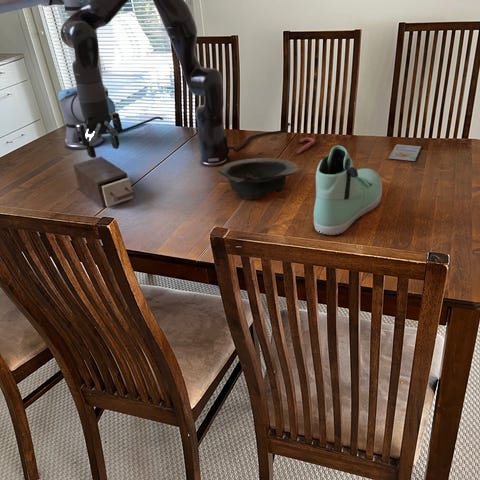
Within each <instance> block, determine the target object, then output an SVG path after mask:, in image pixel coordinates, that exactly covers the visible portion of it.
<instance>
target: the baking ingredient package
mask: <svg viewBox="0 0 480 480" xmlns="http://www.w3.org/2000/svg"><path fill="white" fill-rule="evenodd" d="M421 148H422V146H419V145H418V146H417V145H409V144H398V143H396V145H395V146H394V148H393V149H392V151H391V153H390V155H389V156H388V159H391V160H392V159H393V160H399V161H410V162H411V161H412V162H415V161H416V160H417V157H418V155H419V152H420V151H421Z"/></svg>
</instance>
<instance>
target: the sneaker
mask: <svg viewBox="0 0 480 480" xmlns="http://www.w3.org/2000/svg"><path fill="white" fill-rule="evenodd" d="M317 165H318V166H317V168H316V172H315V201H314V207H313V225H314V229H315V231H316V232H318V233H320V234H323V235H326V236H327V235H328V236H336V235H339V234H342V233H344V232H345V231H347V230H348V229H349V228H350V227H351V226H352V225H353V224H354V222H356V221H357V220H358V219H359V218H360V217H362V216H363V215H365V214H367V213H370V212H372V210H374V209H375V208H377V207H378V205H380V203H381V200H382V196H383V184H382V183H383V182H382V179H381V176H380V175H379V173H378V172H377V171H376V170H374V169H372V168H367V167H365V168H358V169H357V168H355V167H354V161H353V159H352V158H351V156H350V153H349V152H348V150H347V148H345V147H344V146H342V145H334V146H333V147H331V149H330V151H329V154H327V155H326V156H325V157H324V158H322V159H321V160H320V161H319V163H318V164H317ZM343 230H344V231H343ZM319 231H320V232H319ZM322 232H323V233H322ZM339 232H340V233H339ZM326 233H327V234H326ZM328 233H329V234H328ZM335 233H337V234H335Z"/></svg>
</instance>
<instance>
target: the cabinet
mask: <svg viewBox="0 0 480 480" xmlns="http://www.w3.org/2000/svg"><path fill="white" fill-rule="evenodd" d="M72 166H73V170H74V174H75V177H76V178H75V179H76V182H77V186H78V188H79V190H81V192H83V193H85V194H86V195H87V196H88V197H90V199H92V200H93V201H95V202H96V203H97V204H98V205H99V206H101V207H102V208H106V207H107V206H106V203H105V201H104V199H103V195H102V191H101V187H100V184H102V183H105V182H109V181H112V180H115V179H118V178H121V177H124V179H126V178H129V176H128V173H127V172H126V171H125V170H123V169H121V168H120V167H118V166H116V165H115V164H113V162H111V161H109V160H107V159H106V158H104V157H102V156H99V157H95V158H92V159H87V160H86V161H82V162H78V163H75V164H73V165H72Z"/></svg>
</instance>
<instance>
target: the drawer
mask: <svg viewBox="0 0 480 480" xmlns="http://www.w3.org/2000/svg"><path fill="white" fill-rule="evenodd" d="M100 187H101V191H102V195H103V199H104V201H105V203H106V207H107V208H109V207H111V206H115V205H118V204H120V203H123V202H126V201H129V200H131V199H134V196H136V191H134V190H133V189H132V183H131V179H130V178H129V177H128V178H126V179H124V177H121V178H118V179H115V180H112V181H109V182H105V183H102V184H100Z"/></svg>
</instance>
